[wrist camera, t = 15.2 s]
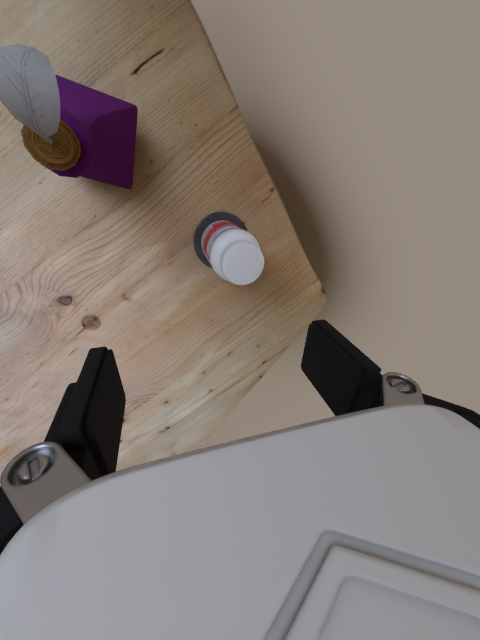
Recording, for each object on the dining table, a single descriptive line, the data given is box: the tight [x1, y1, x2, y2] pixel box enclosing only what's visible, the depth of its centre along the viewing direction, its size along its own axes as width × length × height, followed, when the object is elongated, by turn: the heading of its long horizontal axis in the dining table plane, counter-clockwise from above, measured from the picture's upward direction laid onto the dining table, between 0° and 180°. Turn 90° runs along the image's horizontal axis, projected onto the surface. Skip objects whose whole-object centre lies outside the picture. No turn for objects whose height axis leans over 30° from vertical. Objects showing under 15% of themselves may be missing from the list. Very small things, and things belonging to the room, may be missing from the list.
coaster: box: [194, 212, 247, 268], centre depth 36 cm, size 8×8×1 cm
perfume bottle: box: [0, 44, 138, 189], centre depth 19 cm, size 8×8×18 cm
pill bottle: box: [201, 220, 264, 285], centre depth 31 cm, size 6×6×11 cm
